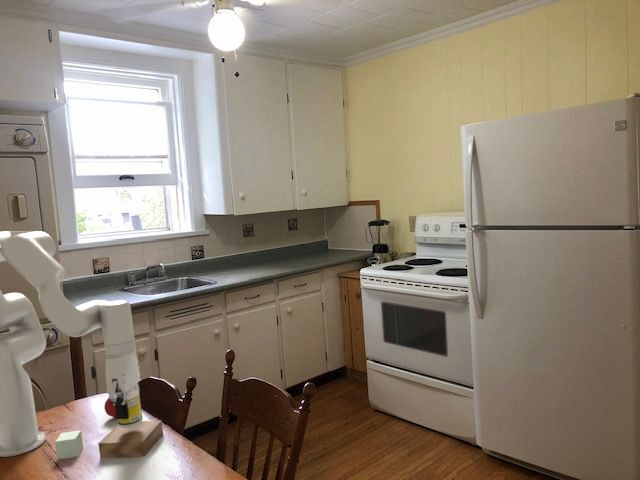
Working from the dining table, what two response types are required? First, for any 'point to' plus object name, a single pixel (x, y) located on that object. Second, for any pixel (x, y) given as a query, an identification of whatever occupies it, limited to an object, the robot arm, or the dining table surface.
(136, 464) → the dining table surface
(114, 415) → the onion
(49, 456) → the dining table surface
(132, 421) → the pill bottle
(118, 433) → the walnut block
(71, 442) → the sage cube
